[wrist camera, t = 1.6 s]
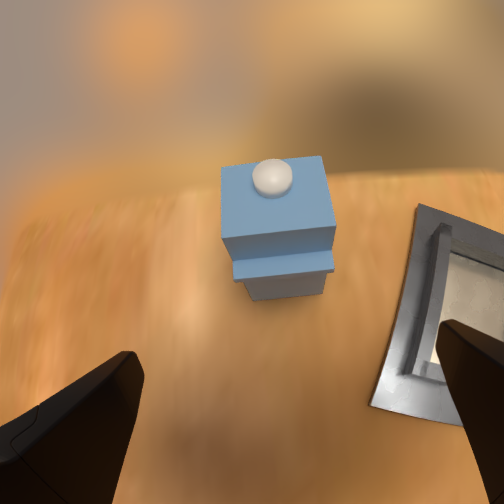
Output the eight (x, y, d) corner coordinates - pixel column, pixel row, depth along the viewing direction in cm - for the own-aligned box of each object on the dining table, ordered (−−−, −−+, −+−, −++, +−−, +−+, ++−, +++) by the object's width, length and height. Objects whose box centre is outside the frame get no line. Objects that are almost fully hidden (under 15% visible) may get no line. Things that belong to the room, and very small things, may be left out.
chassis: (508, 433, 15) (528, 434, 13) (368, 404, 19) (377, 406, 16) (532, 252, 21) (548, 239, 18) (416, 208, 24) (426, 189, 22)
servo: (324, 307, 22) (342, 238, 12) (253, 314, 23) (217, 252, 13) (313, 231, 25) (317, 131, 15) (249, 238, 25) (218, 144, 16)
